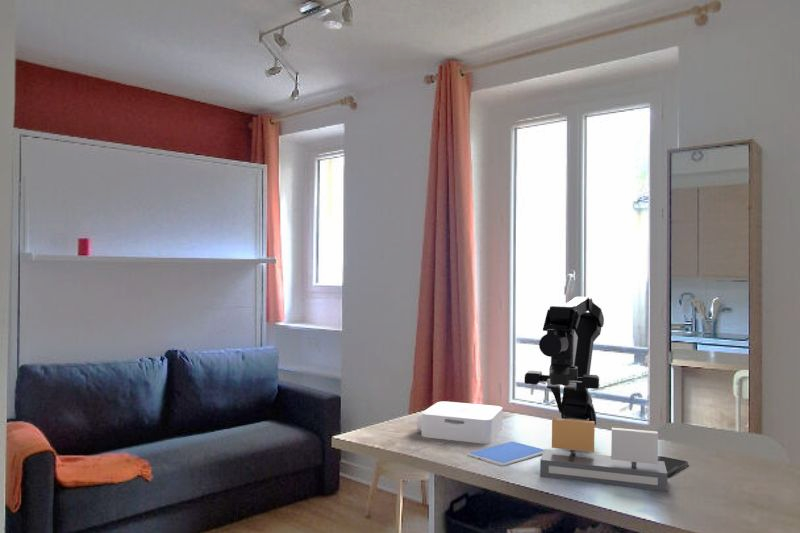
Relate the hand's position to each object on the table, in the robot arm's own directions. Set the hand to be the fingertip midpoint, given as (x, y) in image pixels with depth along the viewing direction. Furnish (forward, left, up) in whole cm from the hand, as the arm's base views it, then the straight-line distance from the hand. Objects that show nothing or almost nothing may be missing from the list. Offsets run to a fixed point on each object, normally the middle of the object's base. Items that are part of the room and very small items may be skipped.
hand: (561, 412), depth 169 cm
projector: (0, -35, -12) cm, 37 cm away
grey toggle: (+4, +23, -8) cm, 24 cm away
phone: (-14, +21, -13) cm, 28 cm away
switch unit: (+6, +16, -12) cm, 20 cm away
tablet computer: (+8, -11, -13) cm, 19 cm away
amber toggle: (+7, +8, -8) cm, 13 cm away
